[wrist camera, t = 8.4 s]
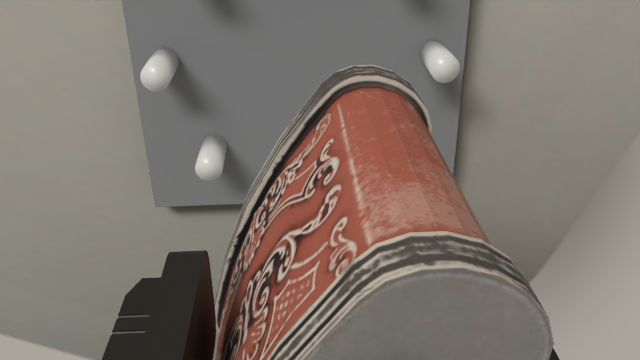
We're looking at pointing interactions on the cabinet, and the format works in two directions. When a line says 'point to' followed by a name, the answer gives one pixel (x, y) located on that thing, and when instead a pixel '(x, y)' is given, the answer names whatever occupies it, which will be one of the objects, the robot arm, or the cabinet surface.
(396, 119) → the lighter
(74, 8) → the cabinet surface
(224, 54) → the pin tray
